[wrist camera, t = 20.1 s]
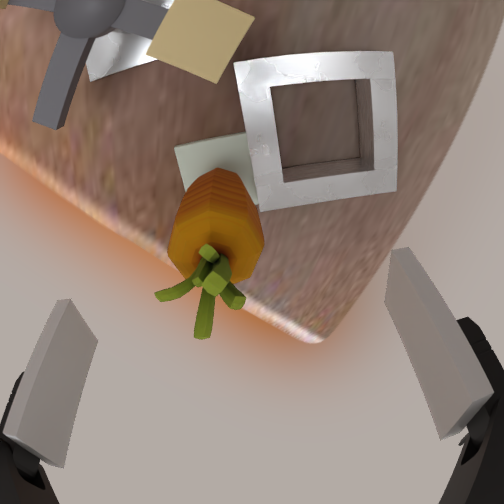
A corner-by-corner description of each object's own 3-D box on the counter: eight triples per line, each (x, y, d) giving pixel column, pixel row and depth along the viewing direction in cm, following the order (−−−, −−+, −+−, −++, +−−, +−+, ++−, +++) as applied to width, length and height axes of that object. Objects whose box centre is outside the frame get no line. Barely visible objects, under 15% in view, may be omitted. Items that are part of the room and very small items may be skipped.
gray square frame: (375, 50, 20) (393, 51, 17) (381, 177, 26) (396, 191, 24) (232, 62, 20) (233, 62, 18) (257, 195, 26) (260, 212, 24)
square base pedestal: (176, -41, 15) (158, -74, 9) (194, 50, 20) (181, 46, 14) (76, -6, 15) (30, -19, 10) (94, 80, 20) (50, 93, 14)
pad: (252, 130, 23) (252, 132, 23) (263, 199, 27) (264, 202, 26) (175, 145, 24) (174, 147, 23) (193, 212, 27) (192, 216, 26)
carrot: (225, 215, 27) (221, 369, 14) (176, 179, 25) (125, 319, 12) (266, 172, 25) (301, 309, 12) (217, 131, 23) (196, 238, 10)
